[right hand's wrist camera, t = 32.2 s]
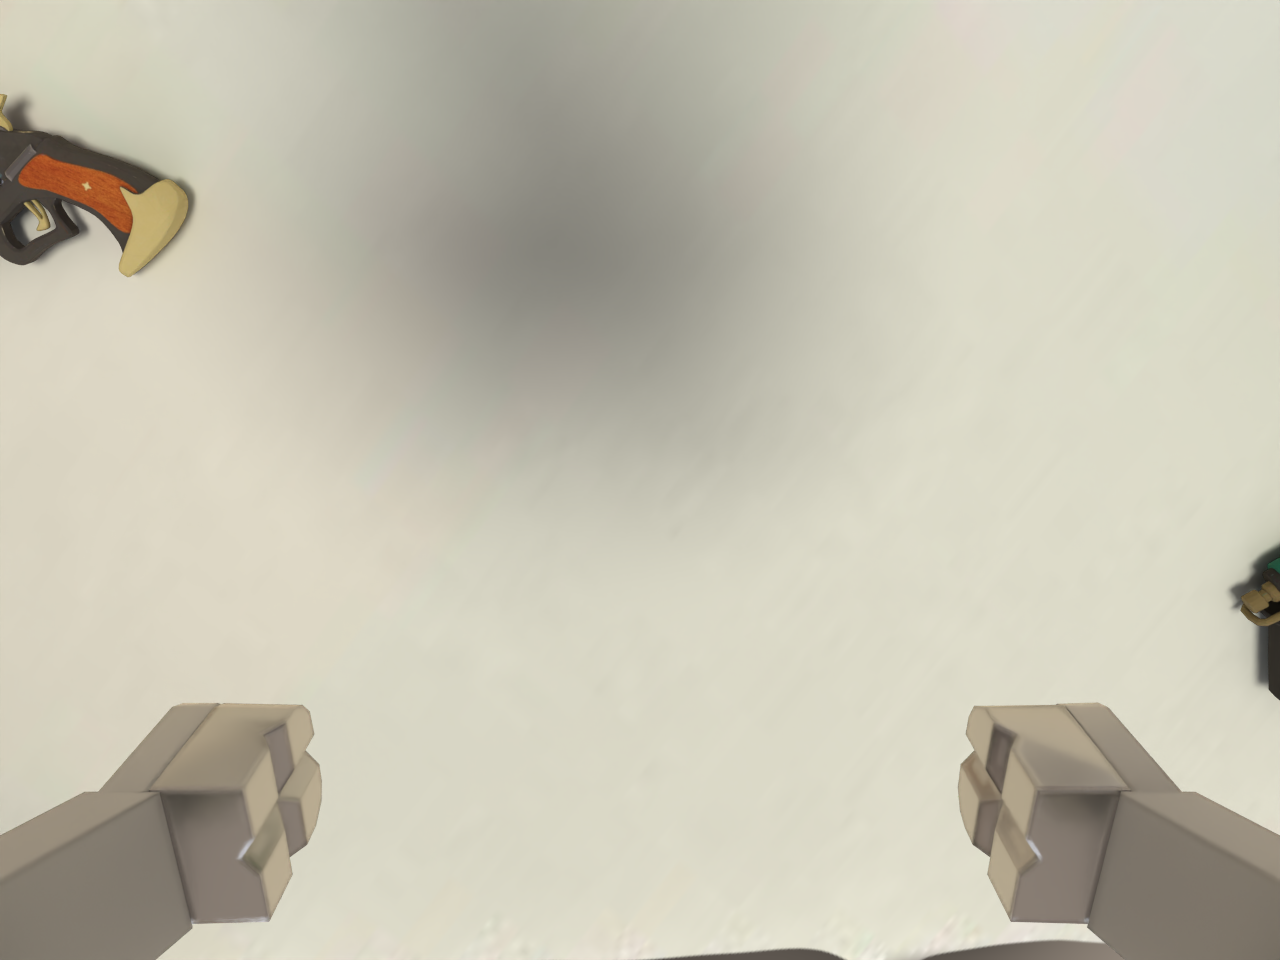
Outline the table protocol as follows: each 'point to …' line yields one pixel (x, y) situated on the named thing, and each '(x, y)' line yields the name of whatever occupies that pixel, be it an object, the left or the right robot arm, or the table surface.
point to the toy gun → (82, 196)
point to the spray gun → (1268, 618)
